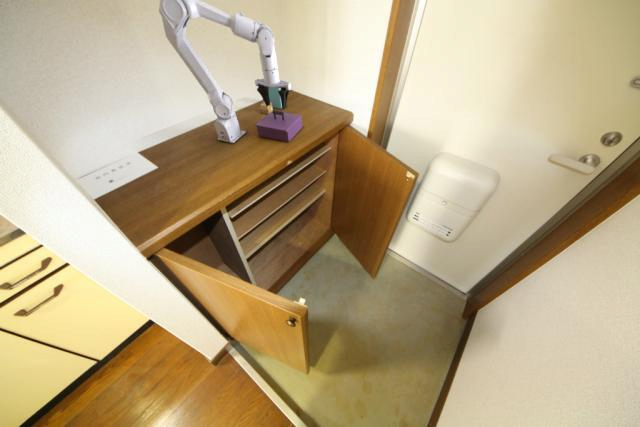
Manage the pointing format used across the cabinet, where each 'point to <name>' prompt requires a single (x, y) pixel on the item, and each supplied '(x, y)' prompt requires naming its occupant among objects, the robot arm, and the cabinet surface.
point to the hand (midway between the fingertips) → (276, 106)
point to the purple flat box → (280, 132)
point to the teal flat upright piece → (275, 97)
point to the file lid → (278, 121)
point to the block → (266, 108)
